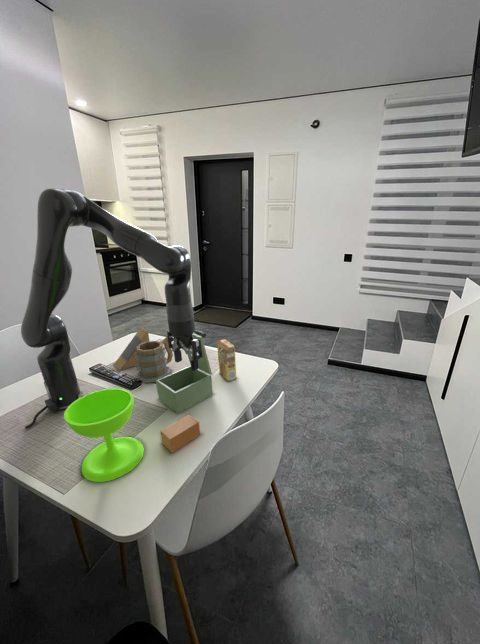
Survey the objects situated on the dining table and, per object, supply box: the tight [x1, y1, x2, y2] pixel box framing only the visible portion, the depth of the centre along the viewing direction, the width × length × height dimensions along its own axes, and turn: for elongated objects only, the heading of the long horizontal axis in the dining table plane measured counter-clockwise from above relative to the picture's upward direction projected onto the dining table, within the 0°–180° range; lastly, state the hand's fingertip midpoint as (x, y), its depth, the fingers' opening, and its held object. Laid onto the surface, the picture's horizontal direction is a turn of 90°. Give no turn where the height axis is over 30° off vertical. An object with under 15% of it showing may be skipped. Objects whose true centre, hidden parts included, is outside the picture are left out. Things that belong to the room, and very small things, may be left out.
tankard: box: [135, 335, 174, 384], centre depth 124 cm, size 20×13×15 cm, turn 148°
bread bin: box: [155, 365, 214, 414], centre depth 107 cm, size 16×13×8 cm
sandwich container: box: [113, 326, 151, 371], centre depth 132 cm, size 9×15×15 cm, turn 132°
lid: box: [186, 329, 213, 376], centre depth 108 cm, size 16×13×5 cm
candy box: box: [216, 338, 237, 382], centre depth 120 cm, size 9×4×15 cm, turn 33°
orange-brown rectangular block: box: [159, 414, 201, 454], centre depth 87 cm, size 10×6×5 cm, turn 138°
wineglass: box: [63, 387, 145, 483], centre depth 78 cm, size 16×16×18 cm
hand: (186, 365), depth 90 cm, fingers open, 8 cm apart
